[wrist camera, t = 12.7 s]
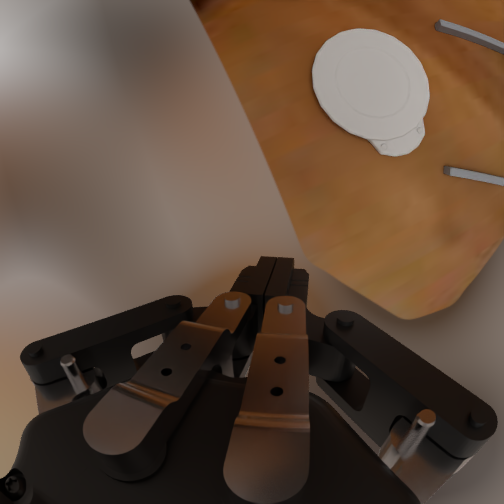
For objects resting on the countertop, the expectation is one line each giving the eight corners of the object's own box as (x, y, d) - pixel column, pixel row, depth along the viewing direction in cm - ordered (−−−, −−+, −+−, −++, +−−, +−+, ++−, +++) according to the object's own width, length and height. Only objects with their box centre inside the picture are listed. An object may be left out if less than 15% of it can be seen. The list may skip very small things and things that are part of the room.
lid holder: (434, 24, 26) (439, 19, 24) (508, 51, 23) (515, 48, 21) (443, 173, 36) (450, 175, 33) (514, 187, 32) (522, 190, 30)
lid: (357, 176, 40) (360, 178, 37) (289, 61, 35) (287, 55, 32) (448, 133, 33) (456, 133, 31) (384, 21, 29) (388, 14, 26)
